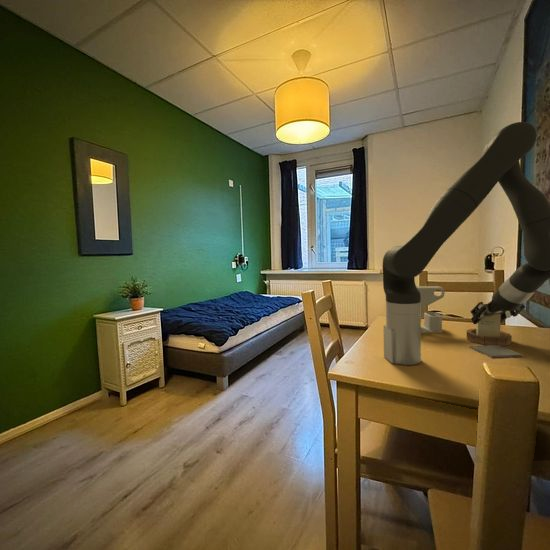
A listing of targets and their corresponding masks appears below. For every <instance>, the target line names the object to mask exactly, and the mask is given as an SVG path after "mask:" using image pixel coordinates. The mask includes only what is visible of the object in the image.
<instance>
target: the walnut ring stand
mask: <svg viewBox="0 0 550 550" xmlns="http://www.w3.org/2000/svg"><path fill="white" fill-rule="evenodd" d="M476 330H477V328H469V329H466V340H468V341H470V342H472V343H475V344H479V345H499V346H502V347H504V346H509V345H512V341H513V340H512V339H513V338H512V334H511V333H509V332H506V331H502V330H500V337H487V336H481V335H476Z"/></svg>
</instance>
